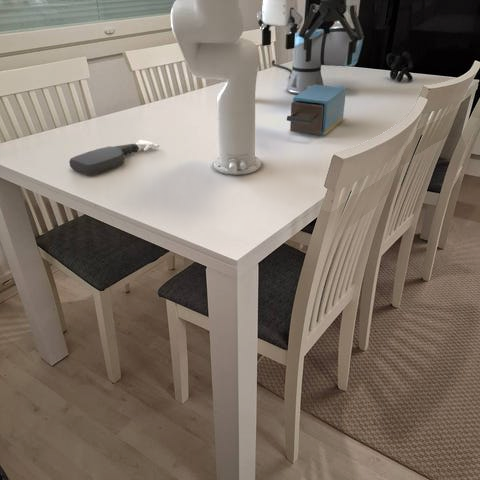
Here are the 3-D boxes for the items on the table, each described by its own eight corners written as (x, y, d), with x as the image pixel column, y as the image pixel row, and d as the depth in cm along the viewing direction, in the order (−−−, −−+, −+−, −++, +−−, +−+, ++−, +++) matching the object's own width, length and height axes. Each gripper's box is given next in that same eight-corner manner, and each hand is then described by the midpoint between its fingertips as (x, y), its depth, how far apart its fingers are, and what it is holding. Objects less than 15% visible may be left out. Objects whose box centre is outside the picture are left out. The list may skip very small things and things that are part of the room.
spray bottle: (67, 168, 120) (139, 144, 136) (91, 178, 114) (163, 151, 130) (65, 157, 118) (137, 134, 134) (89, 167, 112) (162, 142, 128)
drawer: (312, 141, 132) (314, 111, 127) (282, 136, 136) (283, 107, 132) (338, 119, 150) (340, 93, 145) (310, 116, 154) (311, 89, 149)
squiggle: (400, 92, 202) (376, 71, 205) (417, 76, 202) (392, 56, 205) (405, 81, 191) (380, 59, 194) (423, 64, 191) (397, 42, 194)
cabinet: (324, 136, 139) (327, 101, 133) (291, 131, 143) (292, 97, 138) (343, 119, 153) (346, 87, 147) (312, 115, 157) (314, 84, 152)
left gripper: (313, -21, 118) (308, 48, 127) (267, -22, 129) (266, 42, 138) (293, -20, 114) (290, 52, 123) (248, -21, 125) (248, 45, 134)
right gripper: (380, -15, 128) (370, 63, 139) (299, -15, 139) (296, 58, 150) (373, -14, 123) (363, 67, 134) (290, -14, 133) (287, 61, 144)
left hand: (277, 47), depth 131 cm, fingers open, 9 cm apart
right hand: (328, 62), depth 142 cm, fingers open, 13 cm apart
